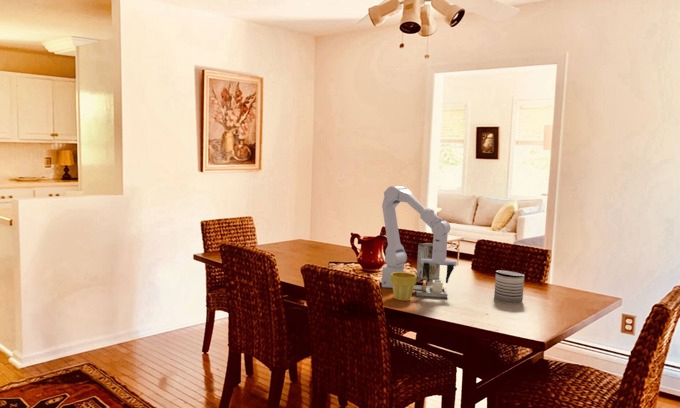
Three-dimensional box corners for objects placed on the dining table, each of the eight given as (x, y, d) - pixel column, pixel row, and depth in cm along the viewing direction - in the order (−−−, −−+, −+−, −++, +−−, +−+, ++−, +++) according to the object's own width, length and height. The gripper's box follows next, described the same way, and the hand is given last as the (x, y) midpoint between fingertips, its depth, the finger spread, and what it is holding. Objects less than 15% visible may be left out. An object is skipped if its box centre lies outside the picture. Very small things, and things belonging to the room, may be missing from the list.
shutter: (410, 289, 233) (410, 282, 232) (410, 286, 239) (410, 279, 239) (425, 291, 232) (426, 284, 232) (425, 287, 238) (426, 280, 238)
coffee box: (433, 275, 270) (435, 242, 268) (439, 279, 264) (441, 245, 262) (415, 276, 267) (417, 243, 265) (422, 279, 261) (424, 245, 259)
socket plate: (416, 296, 230) (416, 291, 230) (416, 290, 241) (416, 285, 241) (447, 298, 229) (447, 294, 229) (445, 292, 240) (446, 287, 239)
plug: (432, 294, 233) (433, 281, 232) (431, 292, 237) (432, 279, 236) (442, 295, 232) (442, 281, 232) (441, 292, 236) (442, 279, 235)
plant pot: (417, 296, 230) (418, 273, 229) (412, 303, 220) (413, 278, 219) (393, 293, 234) (394, 270, 233) (386, 299, 224) (388, 275, 223)
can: (488, 297, 234) (490, 269, 232) (509, 295, 238) (511, 268, 237) (506, 305, 223) (508, 275, 222) (528, 303, 228) (530, 274, 226)
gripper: (422, 250, 230) (420, 282, 231) (458, 252, 228) (455, 285, 229) (421, 247, 237) (419, 278, 238) (456, 249, 235) (454, 281, 236)
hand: (437, 281), depth 234 cm, fingers open, 7 cm apart
